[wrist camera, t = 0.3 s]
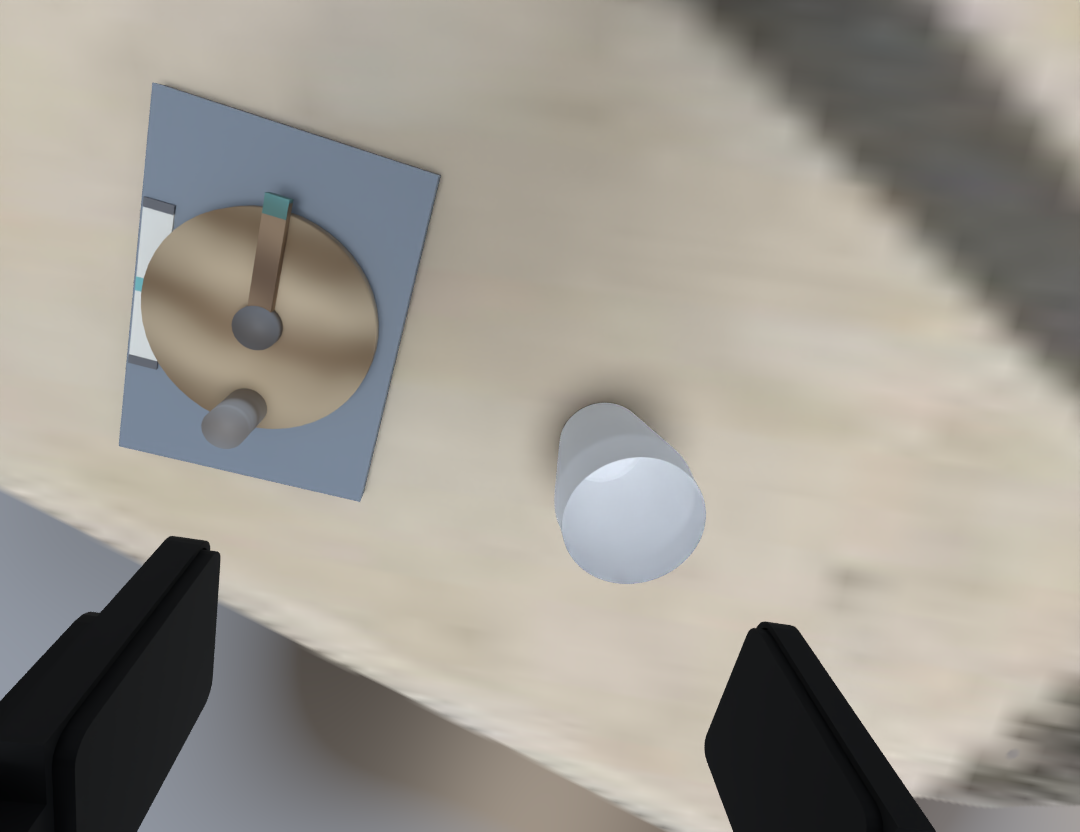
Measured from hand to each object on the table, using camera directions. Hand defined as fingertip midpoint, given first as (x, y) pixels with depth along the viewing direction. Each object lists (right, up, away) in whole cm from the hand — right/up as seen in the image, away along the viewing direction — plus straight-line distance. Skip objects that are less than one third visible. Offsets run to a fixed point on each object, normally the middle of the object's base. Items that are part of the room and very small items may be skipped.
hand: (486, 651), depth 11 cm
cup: (+6, +2, +38) cm, 39 cm away
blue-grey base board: (-17, +11, +33) cm, 39 cm away
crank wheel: (-17, +11, +31) cm, 37 cm away
